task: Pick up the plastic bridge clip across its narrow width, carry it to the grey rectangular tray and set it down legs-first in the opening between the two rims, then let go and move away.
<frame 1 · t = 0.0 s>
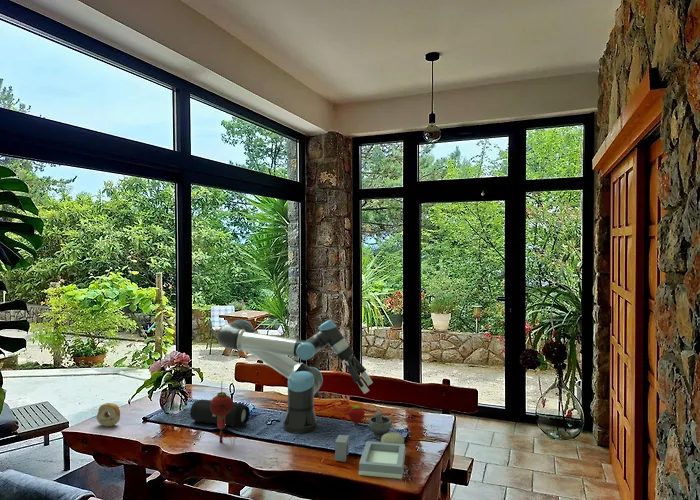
hand: (368, 388, 217), 15 cm above the table, tool tilted 35°, fingers open, 13 cm apart
portable speaker: (219, 424, 212), on the table
mortar and pestle: (379, 437, 198), on the table
lantern: (220, 442, 190), on the table
decorative fruit: (356, 425, 212), on the table
clip: (341, 457, 177), on the table
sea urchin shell: (392, 446, 189), on the table
grey rectangular tray: (383, 464, 172), on the table
stone disc: (108, 425, 208), on the table
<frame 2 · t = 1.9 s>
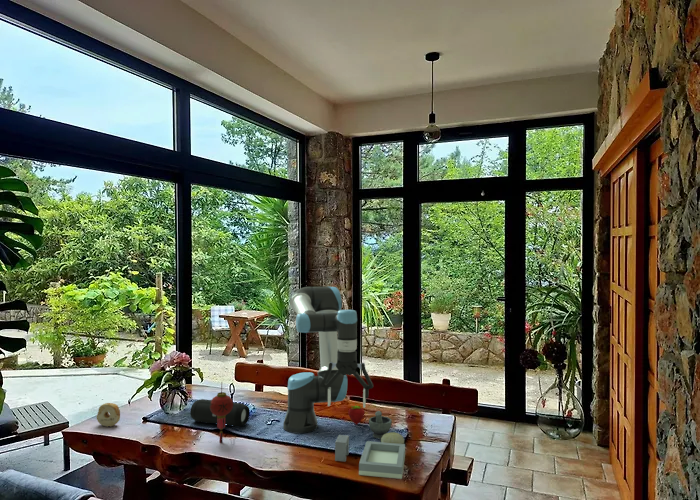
hand: (346, 406, 179), 19 cm above the table, tool pointing down, fingers open, 13 cm apart
nothing on the table moved.
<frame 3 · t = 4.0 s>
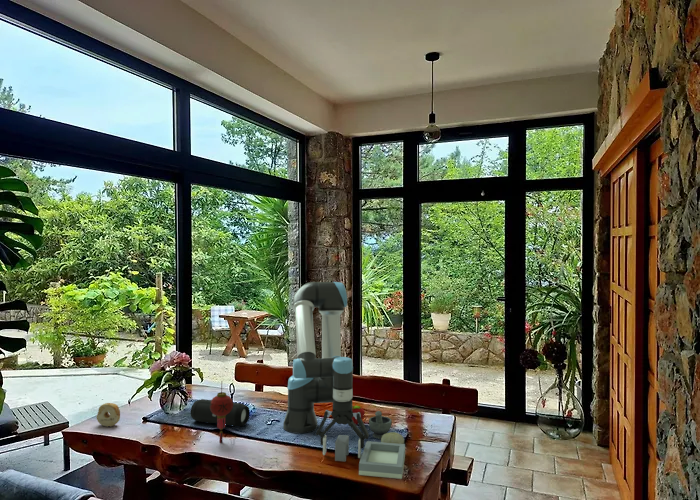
hand: (342, 455, 177), 1 cm above the table, tool pointing down, fingers open, 13 cm apart
nothing on the table moved.
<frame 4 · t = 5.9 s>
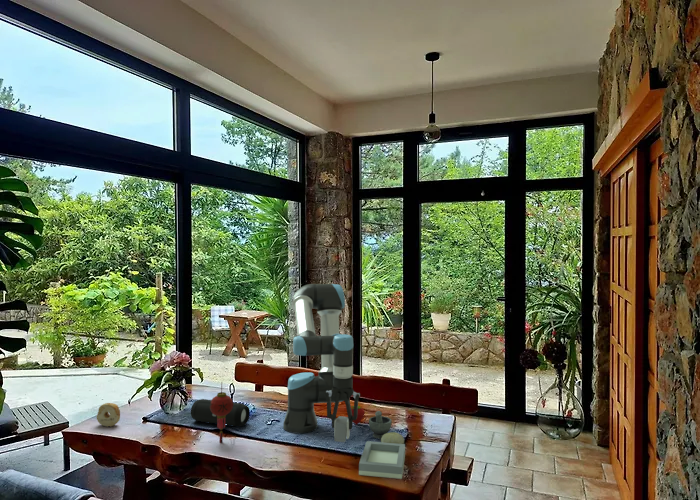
hand: (341, 436, 178), 7 cm above the table, tool pointing down, fingers closed on clip, 4 cm apart
clip: (341, 438, 178), point 7 cm above the table, touching gripper
everything else where it was.
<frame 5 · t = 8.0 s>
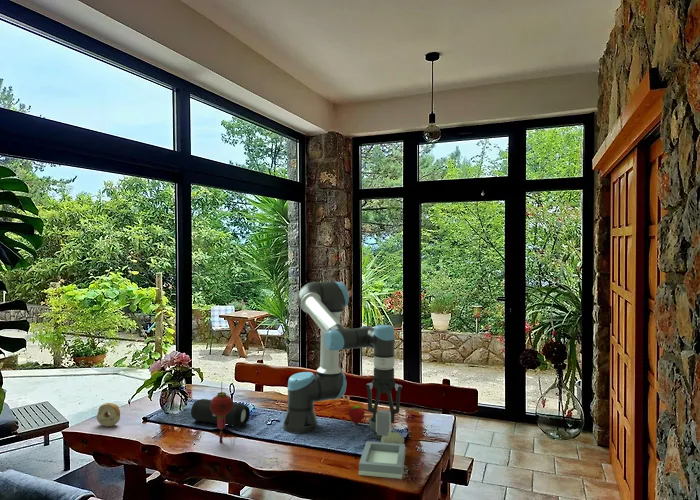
hand: (383, 431, 172), 12 cm above the table, tool pointing down, fingers closed on clip, 4 cm apart
clip: (383, 432, 172), point 12 cm above the table, touching gripper
everything else where it was.
when the fingers open (2 cm above the table, at t = 10.3 s): clip stays where it is, resting on grey rectangular tray.
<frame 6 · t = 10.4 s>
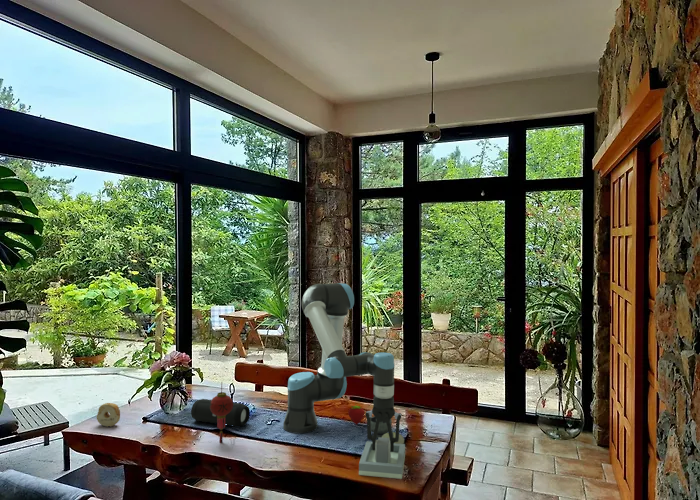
hand: (382, 459, 172), 2 cm above the table, tool pointing down, fingers open, 4 cm apart
clip: (382, 460, 172), point 2 cm above the table, touching grey rectangular tray
everything else where it was.
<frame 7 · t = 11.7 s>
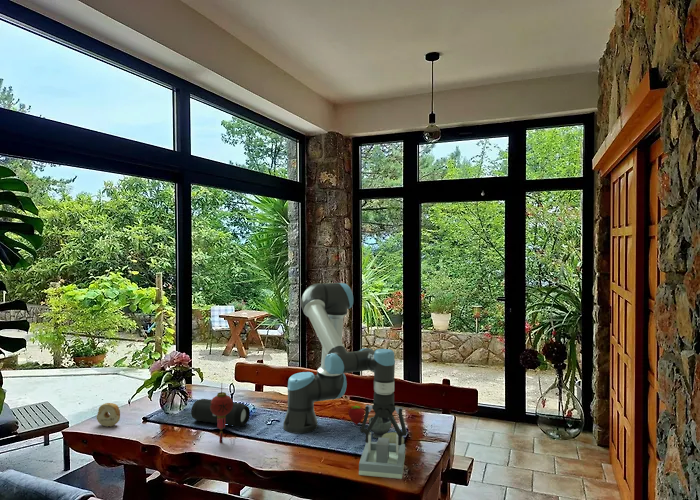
hand: (383, 452, 172), 4 cm above the table, tool pointing down, fingers open, 10 cm apart
nothing on the table moved.
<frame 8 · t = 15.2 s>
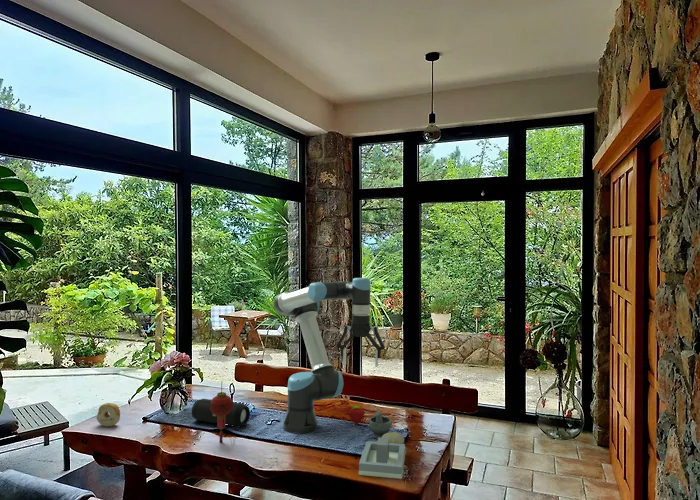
hand: (360, 365, 196), 31 cm above the table, tool pointing down, fingers open, 13 cm apart
nothing on the table moved.
at the end: clip inside the target area on the grey rectangular tray (0.3 cm from its centre), point 1.5 cm above the grey rectangular tray's base; clip tilted 0°; the gripper is holding nothing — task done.
